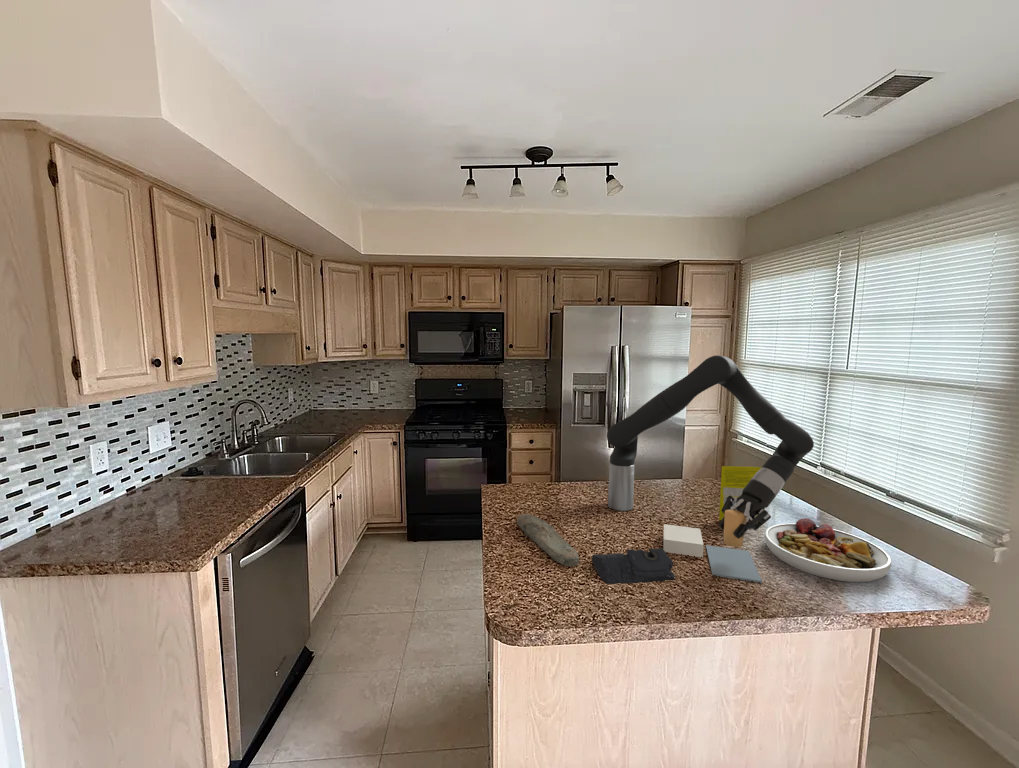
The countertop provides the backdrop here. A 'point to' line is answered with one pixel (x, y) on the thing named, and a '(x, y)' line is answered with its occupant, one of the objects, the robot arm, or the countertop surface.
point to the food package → (734, 482)
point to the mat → (732, 563)
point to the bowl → (827, 551)
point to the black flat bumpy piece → (634, 566)
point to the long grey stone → (548, 539)
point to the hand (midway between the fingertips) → (728, 532)
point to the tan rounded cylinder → (732, 527)
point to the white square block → (683, 540)
